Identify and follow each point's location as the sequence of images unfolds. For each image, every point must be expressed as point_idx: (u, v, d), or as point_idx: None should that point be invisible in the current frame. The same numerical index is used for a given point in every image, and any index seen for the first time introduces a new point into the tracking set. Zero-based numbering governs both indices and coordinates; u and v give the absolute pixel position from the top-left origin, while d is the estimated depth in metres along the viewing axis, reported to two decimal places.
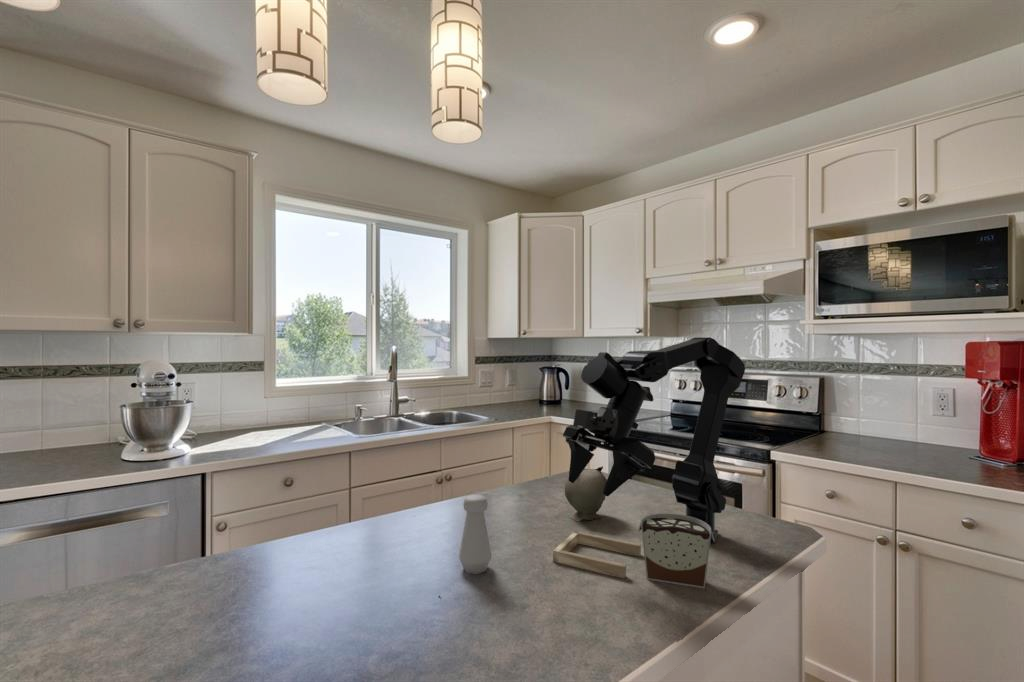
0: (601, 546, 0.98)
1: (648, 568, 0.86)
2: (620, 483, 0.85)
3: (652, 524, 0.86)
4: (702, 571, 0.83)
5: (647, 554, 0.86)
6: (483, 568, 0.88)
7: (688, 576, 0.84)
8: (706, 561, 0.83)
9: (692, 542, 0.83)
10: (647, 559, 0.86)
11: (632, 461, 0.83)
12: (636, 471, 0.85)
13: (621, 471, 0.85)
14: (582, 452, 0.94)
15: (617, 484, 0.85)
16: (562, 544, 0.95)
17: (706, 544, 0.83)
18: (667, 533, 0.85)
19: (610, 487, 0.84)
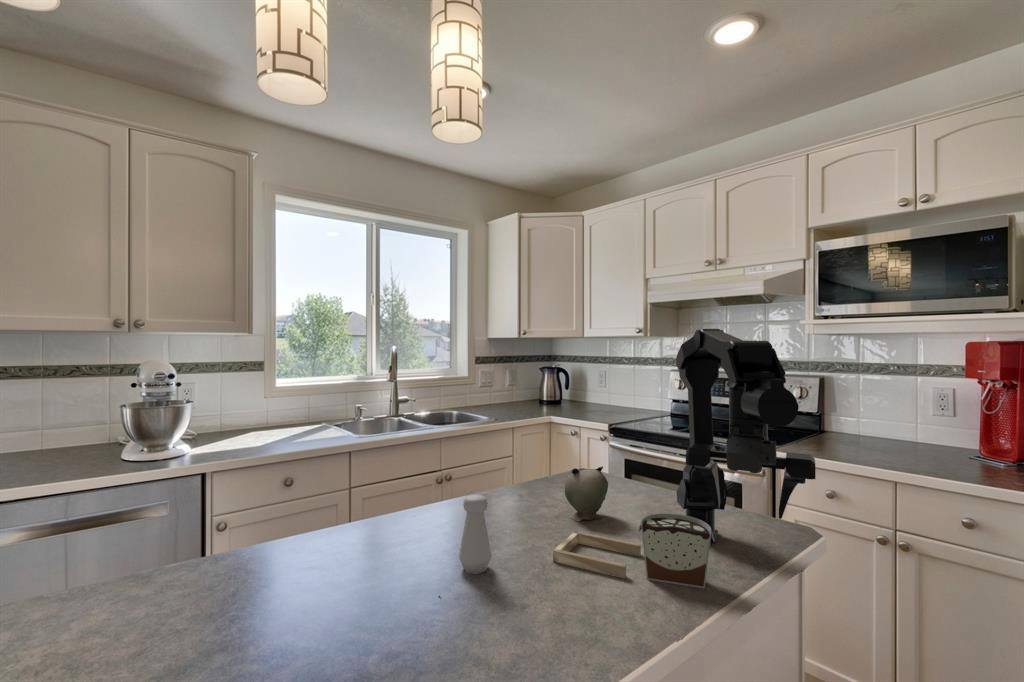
0: (601, 546, 0.98)
1: (648, 568, 0.86)
2: None
3: (652, 524, 0.86)
4: (702, 571, 0.83)
5: (647, 554, 0.86)
6: (483, 568, 0.88)
7: (688, 576, 0.84)
8: (706, 561, 0.83)
9: (692, 542, 0.83)
10: (647, 559, 0.86)
11: None
12: None
13: None
14: (715, 472, 0.84)
15: None
16: (562, 544, 0.95)
17: (706, 544, 0.83)
18: (667, 533, 0.85)
19: (784, 509, 0.78)
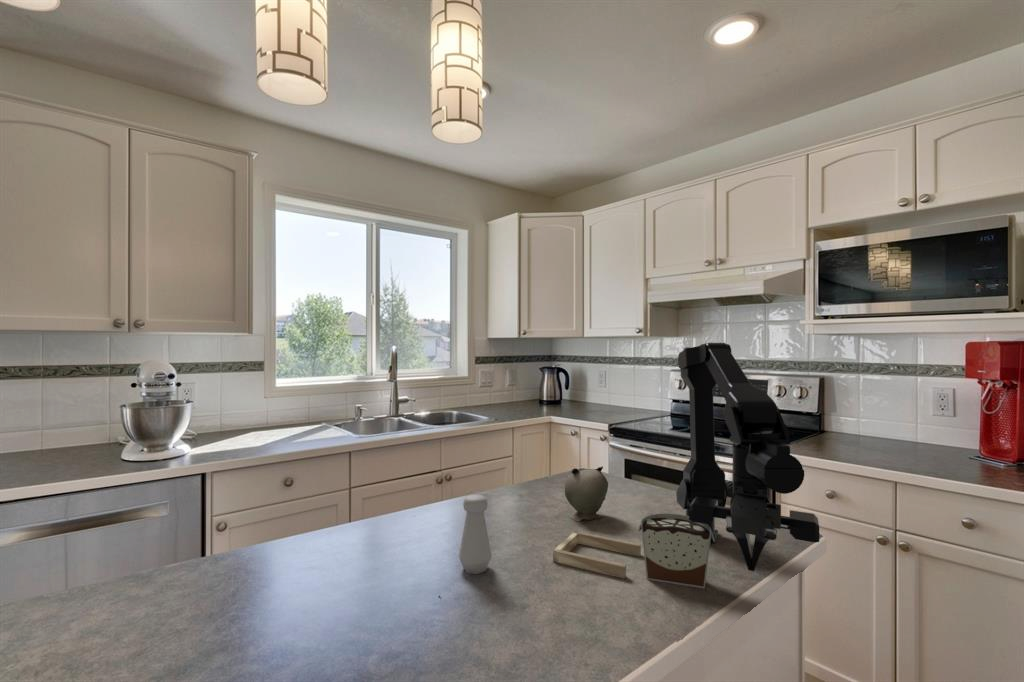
0: (601, 546, 0.98)
1: (648, 568, 0.86)
2: None
3: (652, 524, 0.86)
4: (702, 571, 0.83)
5: (647, 554, 0.86)
6: (483, 568, 0.88)
7: (688, 576, 0.84)
8: (706, 561, 0.83)
9: (692, 542, 0.83)
10: (647, 559, 0.86)
11: None
12: None
13: None
14: None
15: None
16: (562, 544, 0.95)
17: (706, 544, 0.83)
18: (667, 533, 0.85)
19: (756, 562, 0.81)
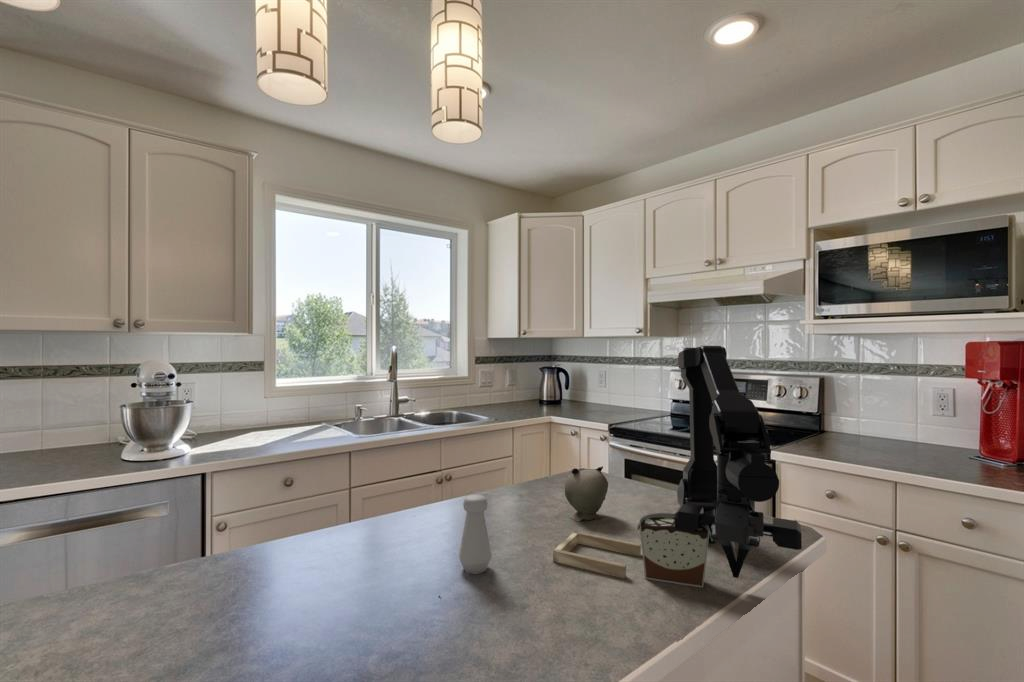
0: (601, 546, 0.98)
1: (646, 567, 0.86)
2: None
3: (651, 524, 0.87)
4: (701, 570, 0.83)
5: (645, 553, 0.86)
6: (483, 568, 0.88)
7: (686, 575, 0.84)
8: (704, 560, 0.83)
9: (690, 541, 0.84)
10: (645, 558, 0.86)
11: (759, 542, 0.80)
12: None
13: None
14: None
15: None
16: (562, 544, 0.95)
17: (704, 543, 0.83)
18: (665, 532, 0.85)
19: (740, 569, 0.82)
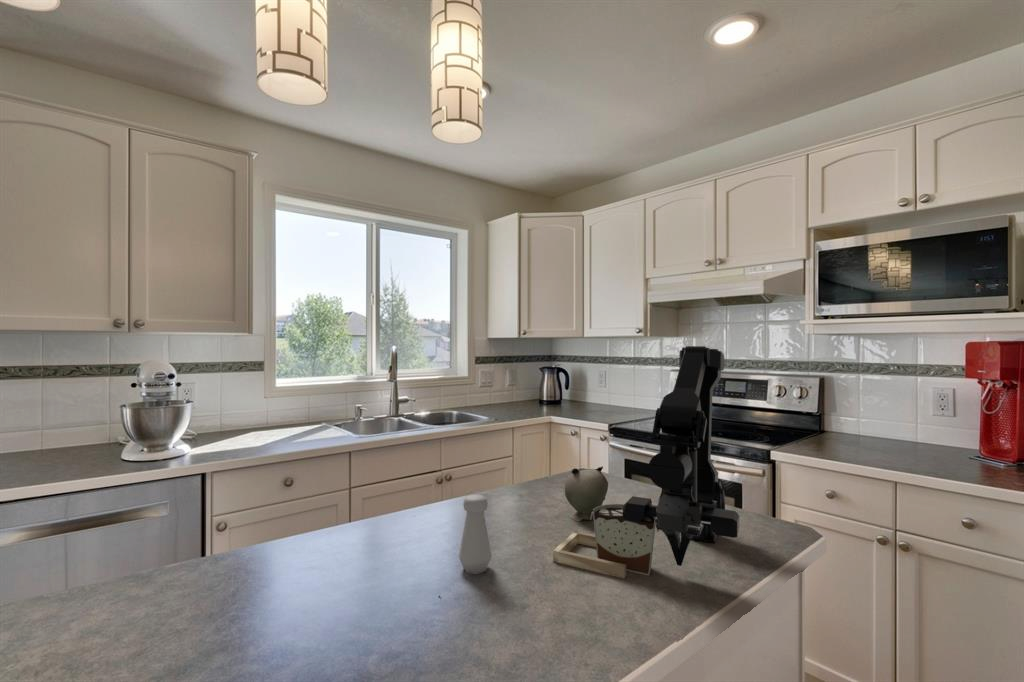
0: None
1: (599, 554, 0.91)
2: None
3: (604, 513, 0.92)
4: (647, 559, 0.87)
5: (598, 541, 0.91)
6: (483, 568, 0.88)
7: (634, 563, 0.88)
8: (650, 550, 0.87)
9: (638, 531, 0.88)
10: (598, 545, 0.91)
11: (700, 531, 0.84)
12: None
13: None
14: None
15: (686, 550, 0.87)
16: (562, 544, 0.95)
17: (651, 534, 0.87)
18: (616, 522, 0.90)
19: None
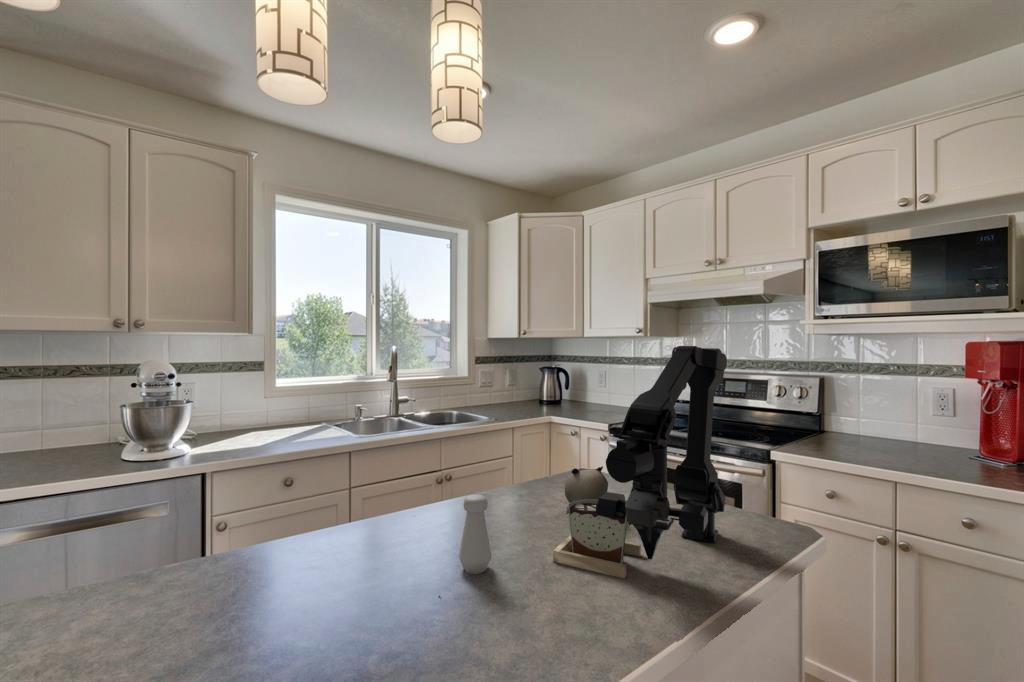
0: None
1: (574, 547, 0.94)
2: (658, 541, 0.89)
3: (580, 508, 0.95)
4: (619, 553, 0.90)
5: (573, 535, 0.94)
6: (483, 568, 0.88)
7: (607, 557, 0.91)
8: (622, 544, 0.89)
9: (610, 526, 0.91)
10: (573, 539, 0.94)
11: (670, 526, 0.87)
12: None
13: None
14: None
15: (657, 544, 0.89)
16: (562, 544, 0.95)
17: (622, 528, 0.89)
18: (590, 516, 0.93)
19: (654, 551, 0.89)
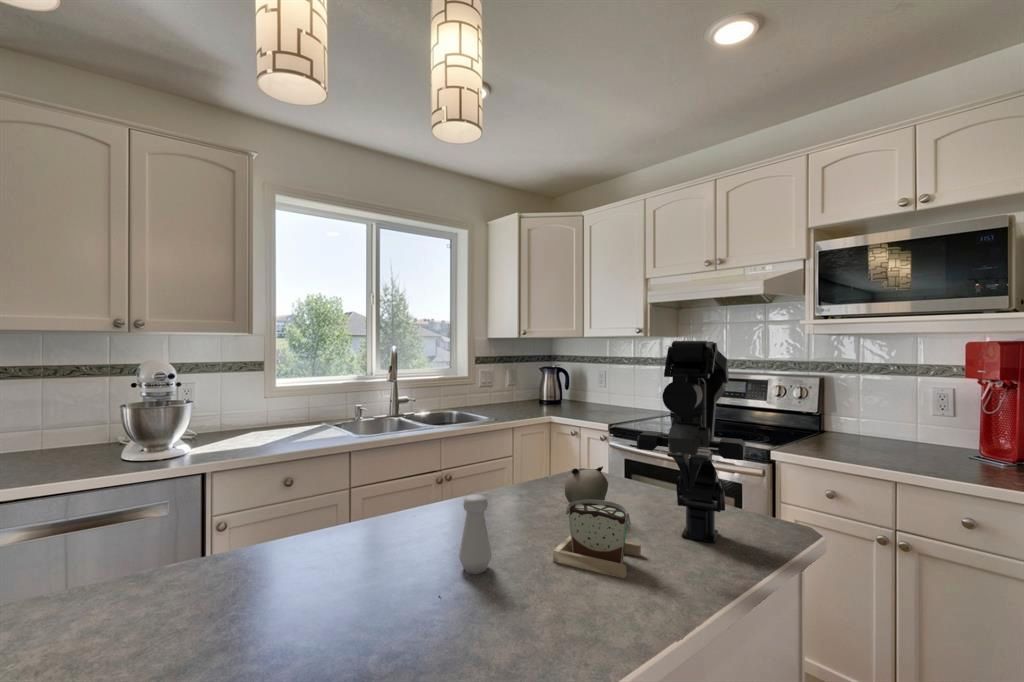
0: None
1: (574, 547, 0.94)
2: (697, 474, 0.94)
3: (579, 508, 0.95)
4: (619, 553, 0.90)
5: (573, 535, 0.94)
6: (483, 568, 0.88)
7: (607, 557, 0.91)
8: (622, 544, 0.89)
9: (610, 526, 0.91)
10: (573, 539, 0.94)
11: (709, 457, 0.91)
12: None
13: None
14: (686, 458, 0.94)
15: (696, 476, 0.94)
16: (562, 544, 0.95)
17: (622, 528, 0.89)
18: (590, 516, 0.93)
19: (693, 483, 0.93)
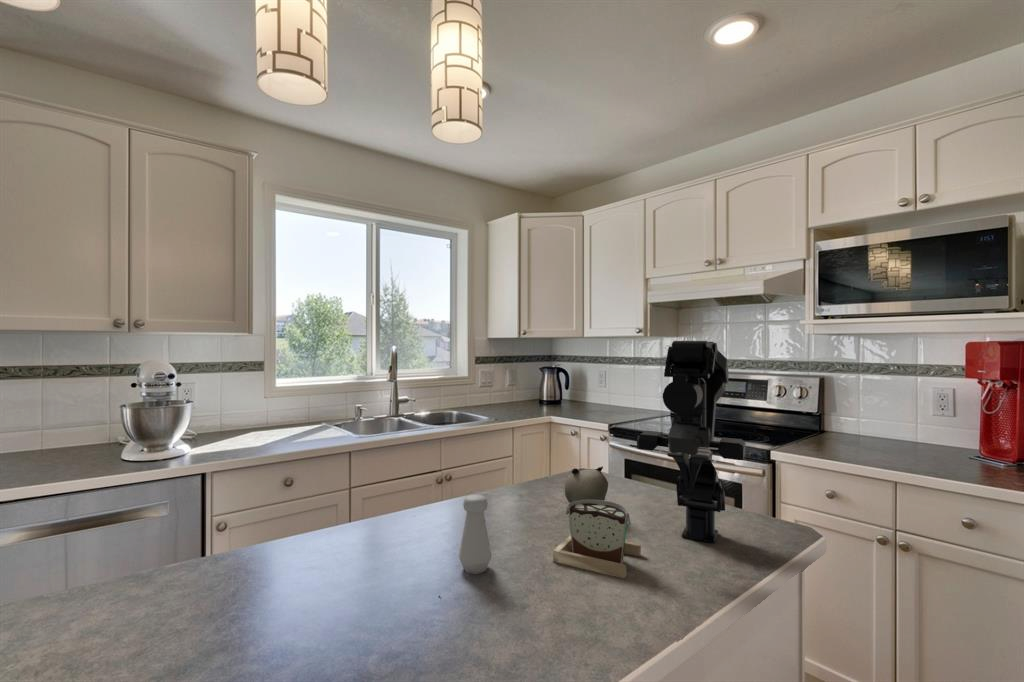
0: None
1: (574, 547, 0.94)
2: (697, 474, 0.94)
3: (579, 508, 0.95)
4: (619, 553, 0.90)
5: (573, 535, 0.94)
6: (483, 568, 0.88)
7: (607, 557, 0.91)
8: (622, 544, 0.89)
9: (610, 526, 0.91)
10: (573, 539, 0.94)
11: (709, 457, 0.91)
12: None
13: None
14: (686, 458, 0.94)
15: (696, 476, 0.94)
16: (562, 544, 0.95)
17: (622, 528, 0.89)
18: (590, 516, 0.93)
19: (694, 483, 0.93)
